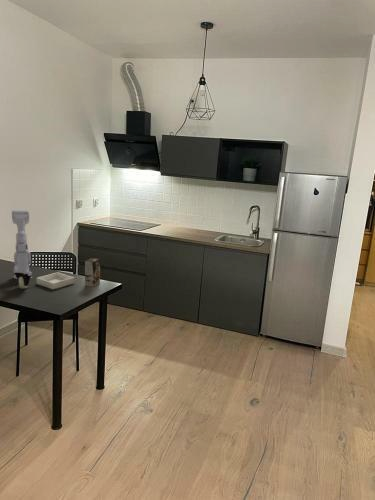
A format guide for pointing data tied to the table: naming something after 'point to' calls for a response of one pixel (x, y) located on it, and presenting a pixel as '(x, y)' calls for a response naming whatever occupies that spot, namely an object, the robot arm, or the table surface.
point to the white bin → (55, 280)
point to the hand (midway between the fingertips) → (23, 284)
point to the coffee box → (92, 272)
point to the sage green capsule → (21, 283)
